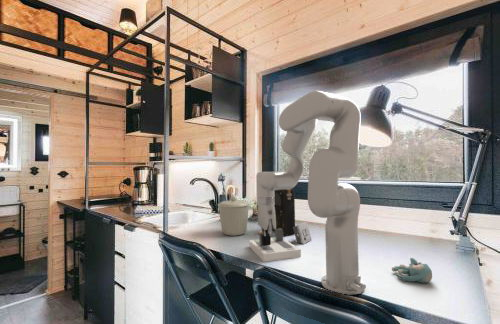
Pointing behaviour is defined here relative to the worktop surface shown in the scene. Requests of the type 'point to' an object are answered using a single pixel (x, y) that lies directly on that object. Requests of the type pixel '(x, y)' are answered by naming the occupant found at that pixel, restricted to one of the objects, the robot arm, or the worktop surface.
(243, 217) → the canister
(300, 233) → the electrical switch
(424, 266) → the stuffed animal
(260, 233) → the block
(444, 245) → the worktop surface
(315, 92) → the robot arm
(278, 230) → the block
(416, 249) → the worktop surface
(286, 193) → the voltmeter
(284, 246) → the white slotted tray
